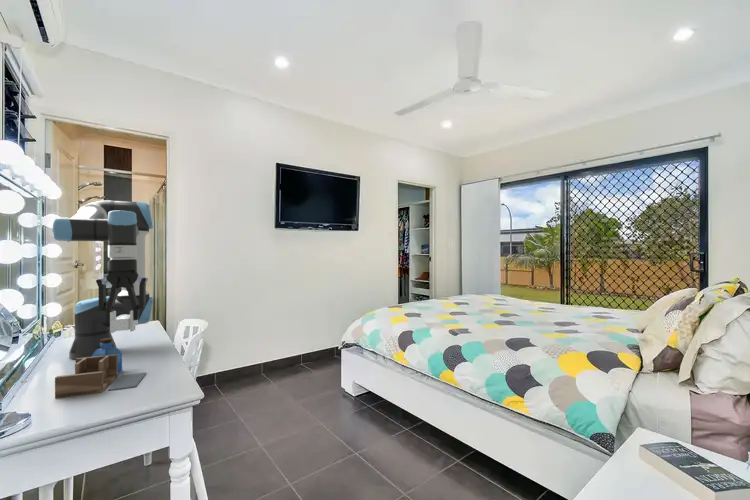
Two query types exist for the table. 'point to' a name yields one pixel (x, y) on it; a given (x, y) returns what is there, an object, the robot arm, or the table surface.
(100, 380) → the pocket jig
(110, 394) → the table surface
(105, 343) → the perfume bottle
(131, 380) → the slate pad
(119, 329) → the bar
